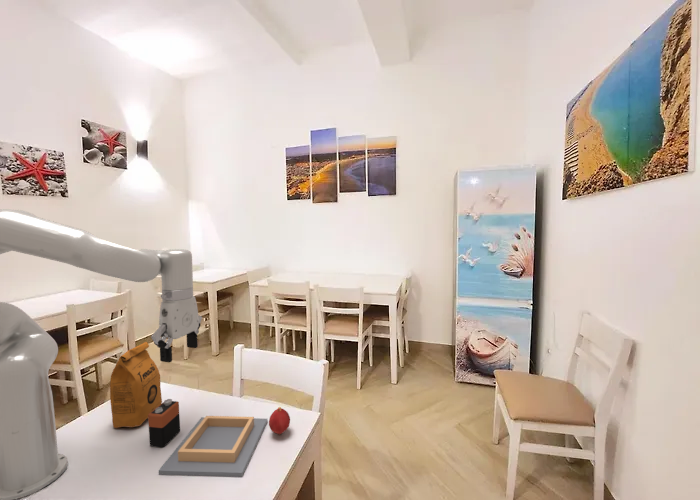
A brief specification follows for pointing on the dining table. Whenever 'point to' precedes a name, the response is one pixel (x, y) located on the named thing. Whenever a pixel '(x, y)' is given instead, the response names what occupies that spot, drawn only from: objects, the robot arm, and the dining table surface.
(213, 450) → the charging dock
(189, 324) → the robot arm
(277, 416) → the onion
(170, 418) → the battery
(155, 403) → the coffee package
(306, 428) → the dining table surface
